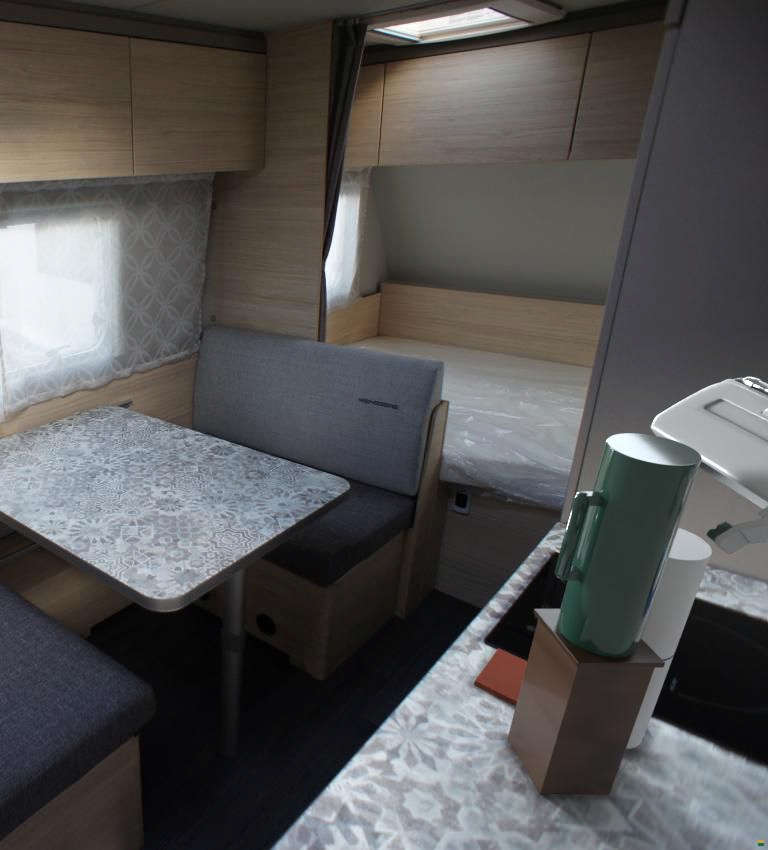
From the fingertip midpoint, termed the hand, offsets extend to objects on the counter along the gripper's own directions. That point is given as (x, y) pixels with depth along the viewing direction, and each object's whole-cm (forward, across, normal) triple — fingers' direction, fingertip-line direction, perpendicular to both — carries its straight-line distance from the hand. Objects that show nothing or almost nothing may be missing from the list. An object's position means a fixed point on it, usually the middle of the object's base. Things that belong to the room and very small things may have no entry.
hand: (676, 514), depth 59 cm
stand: (+25, 0, +20) cm, 32 cm away
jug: (+12, 0, +7) cm, 14 cm away
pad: (+24, -12, +21) cm, 34 cm away
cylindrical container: (+19, -6, +26) cm, 33 cm away
